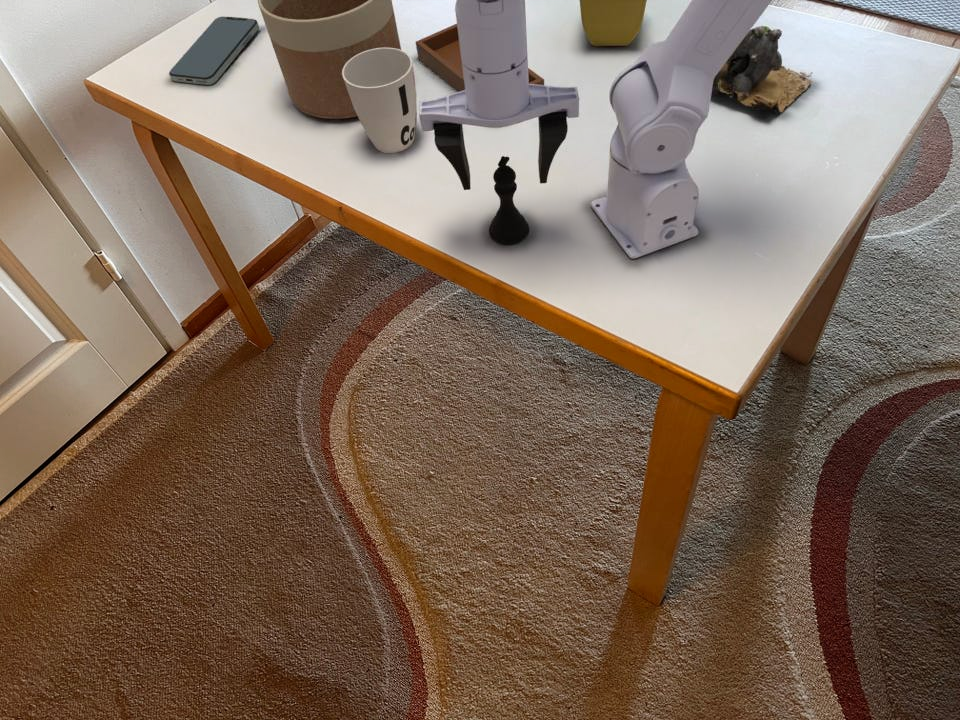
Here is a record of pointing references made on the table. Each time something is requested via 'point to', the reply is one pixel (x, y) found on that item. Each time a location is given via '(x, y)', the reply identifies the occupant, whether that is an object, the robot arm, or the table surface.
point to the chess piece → (507, 208)
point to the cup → (383, 96)
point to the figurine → (760, 73)
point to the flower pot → (612, 21)
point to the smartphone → (214, 50)
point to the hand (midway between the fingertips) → (504, 180)
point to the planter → (325, 46)
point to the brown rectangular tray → (450, 57)
